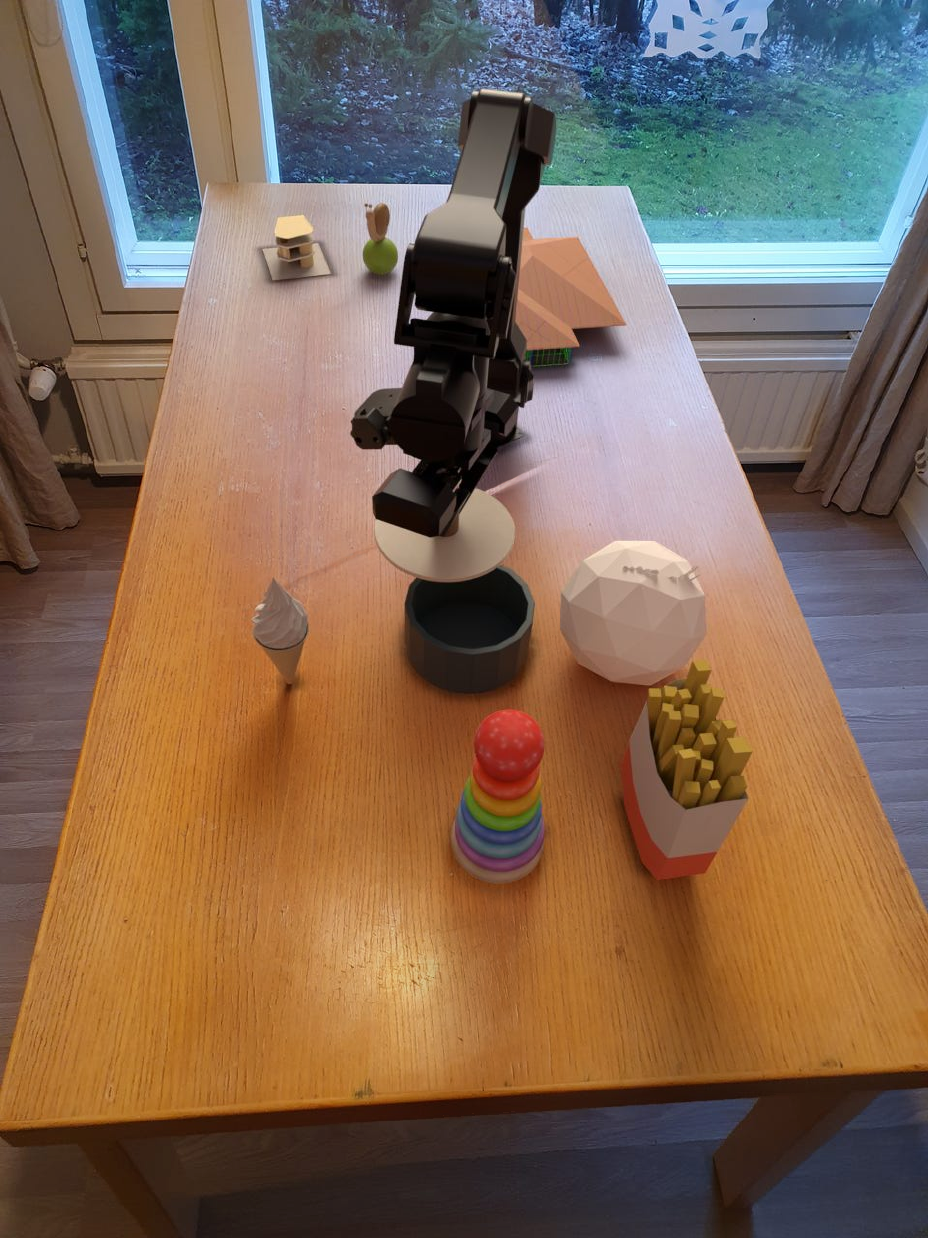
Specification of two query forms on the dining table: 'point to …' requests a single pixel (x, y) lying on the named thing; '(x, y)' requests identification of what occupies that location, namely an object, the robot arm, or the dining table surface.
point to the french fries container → (683, 776)
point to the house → (560, 295)
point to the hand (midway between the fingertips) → (446, 525)
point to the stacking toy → (502, 801)
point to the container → (469, 630)
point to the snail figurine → (379, 241)
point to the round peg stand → (453, 543)
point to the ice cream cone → (281, 629)
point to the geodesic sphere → (633, 612)
